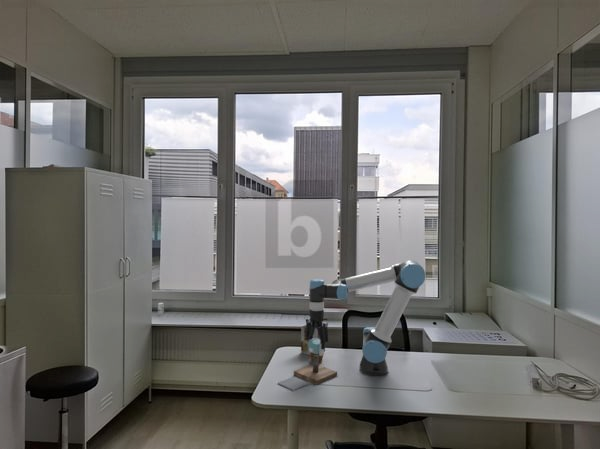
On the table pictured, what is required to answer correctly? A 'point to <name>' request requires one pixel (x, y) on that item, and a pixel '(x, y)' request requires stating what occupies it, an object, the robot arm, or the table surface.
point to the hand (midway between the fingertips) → (316, 353)
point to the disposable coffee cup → (316, 354)
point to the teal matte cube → (314, 346)
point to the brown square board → (315, 372)
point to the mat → (293, 383)
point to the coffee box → (306, 340)
